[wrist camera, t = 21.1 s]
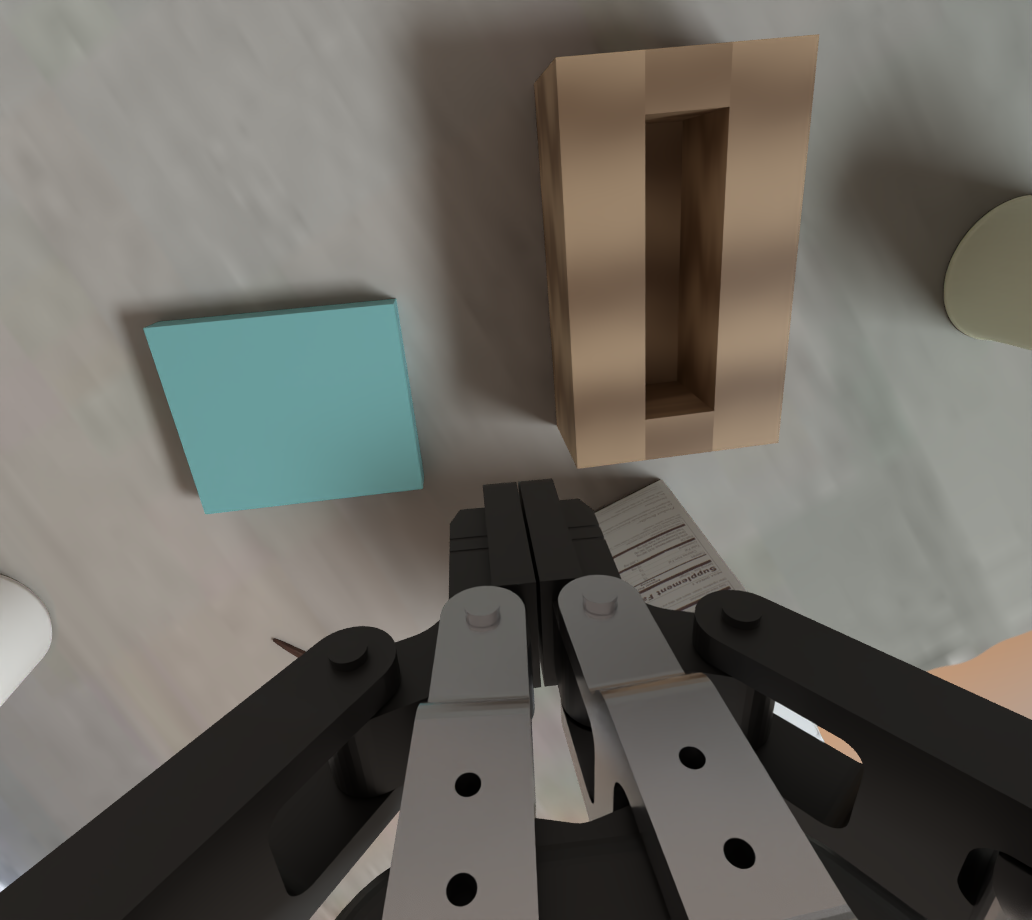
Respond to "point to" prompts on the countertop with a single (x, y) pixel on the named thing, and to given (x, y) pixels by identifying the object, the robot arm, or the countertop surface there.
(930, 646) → the countertop surface
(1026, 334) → the can
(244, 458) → the cover plate
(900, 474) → the countertop surface
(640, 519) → the supplement box
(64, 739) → the countertop surface
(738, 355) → the slot box
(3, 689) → the alcohol
